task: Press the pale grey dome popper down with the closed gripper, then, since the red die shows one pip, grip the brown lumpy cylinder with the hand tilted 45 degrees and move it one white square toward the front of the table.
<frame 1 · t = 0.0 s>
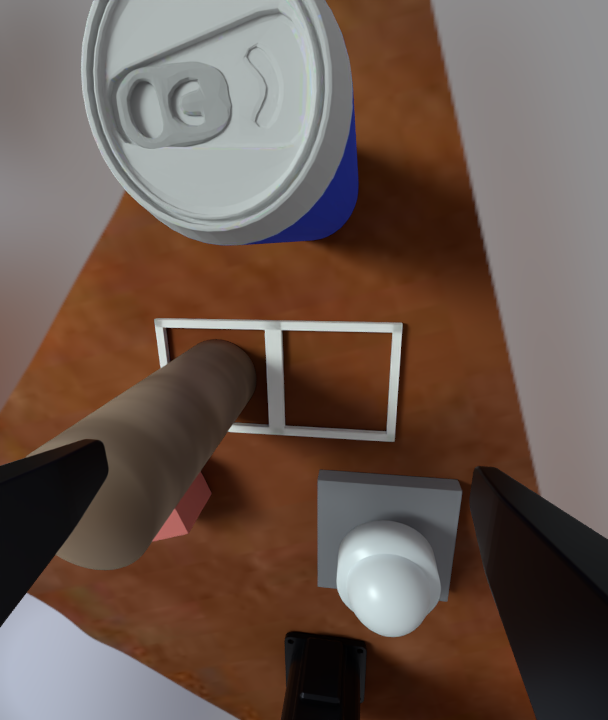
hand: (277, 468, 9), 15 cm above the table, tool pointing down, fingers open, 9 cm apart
white rectangular frame: (276, 378, 24), on the table
brown lumpy cylinder: (219, 376, 25), resting in white rectangular frame
dome base: (383, 529, 27), on the table
beverage can: (311, 191, 21), on the table
dome: (387, 586, 22), point 5 cm above the table, slide at -0.2 cm
red die: (176, 476, 28), on the table
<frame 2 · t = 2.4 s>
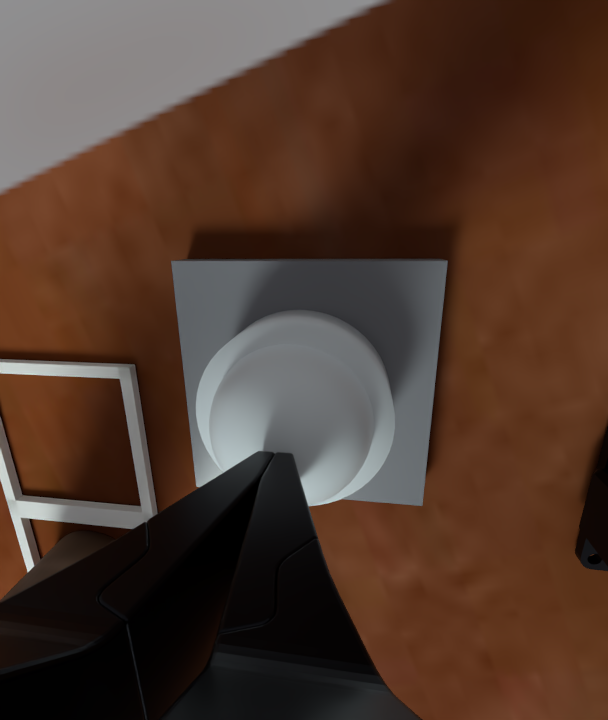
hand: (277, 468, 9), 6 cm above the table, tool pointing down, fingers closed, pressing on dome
white rectangular frame: (85, 509, 19), on the table
brown lumpy cylinder: (98, 570, 20), resting in white rectangular frame
dome base: (308, 378, 15), on the table
dome: (291, 421, 11), point 4 cm above the table, slide at -1.1 cm, touching gripper
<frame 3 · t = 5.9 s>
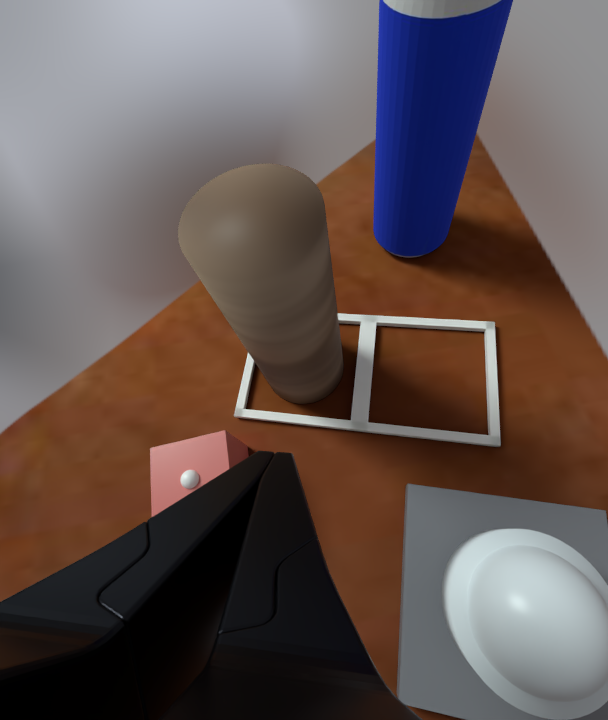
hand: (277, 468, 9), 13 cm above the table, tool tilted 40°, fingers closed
white rectangular frame: (364, 371, 24), on the table
brown lumpy cylinder: (304, 366, 24), resting in white rectangular frame
dome base: (498, 597, 18), on the table
beverage can: (409, 235, 28), on the table
dome: (534, 616, 14), point 4 cm above the table, slide at -0.6 cm
red die: (218, 487, 22), on the table
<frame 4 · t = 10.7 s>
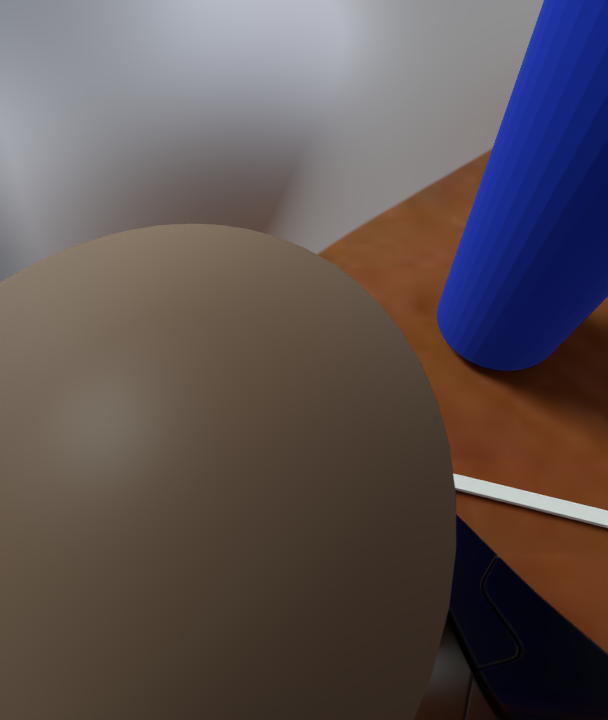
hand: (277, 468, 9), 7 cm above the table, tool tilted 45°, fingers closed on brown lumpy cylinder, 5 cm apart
white rectangular frame: (405, 574, 13), on the table
brown lumpy cylinder: (302, 542, 14), resting in white rectangular frame, touching gripper
beverage can: (490, 328, 18), on the table
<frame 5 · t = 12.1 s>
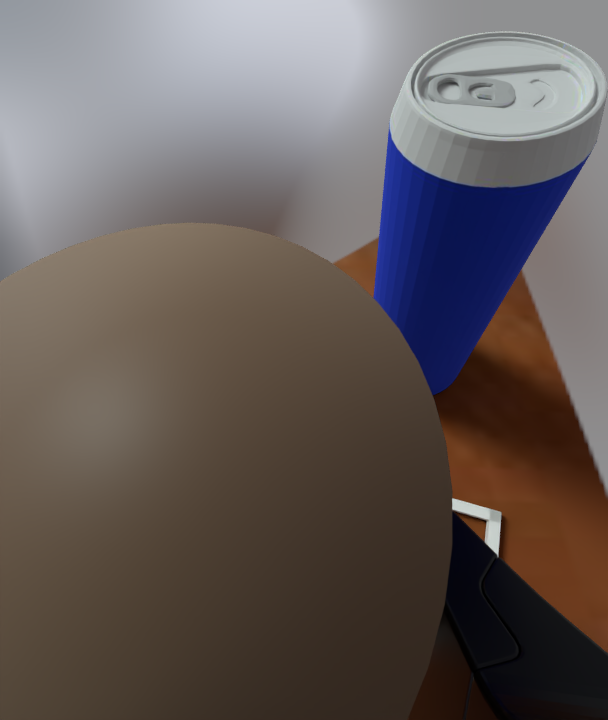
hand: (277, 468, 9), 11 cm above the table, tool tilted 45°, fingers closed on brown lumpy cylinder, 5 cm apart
white rectangular frame: (325, 546, 18), on the table
brown lumpy cylinder: (302, 542, 14), point 5 cm above the table, touching gripper
beverage can: (412, 361, 23), on the table
when the fingers open (8 cm above the table, at t = 13.8 s): brown lumpy cylinder drops 1 cm, resting in white rectangular frame.
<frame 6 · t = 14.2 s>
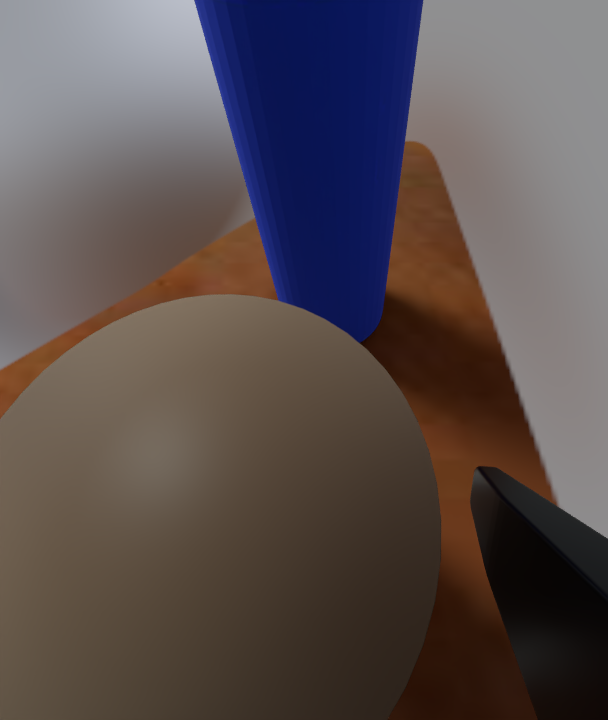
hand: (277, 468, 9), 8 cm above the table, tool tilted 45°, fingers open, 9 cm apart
brown lumpy cylinder: (304, 544, 15), resting in white rectangular frame
beverage can: (332, 315, 20), on the table
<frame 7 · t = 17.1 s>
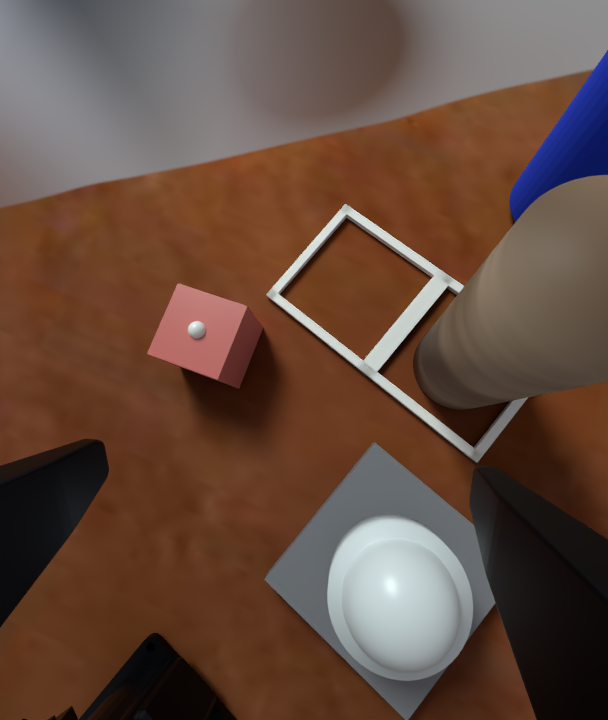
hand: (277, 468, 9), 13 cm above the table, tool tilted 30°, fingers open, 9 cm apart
white rectangular frame: (405, 324, 22), on the table
brown lumpy cylinder: (458, 365, 22), resting in white rectangular frame
dome base: (387, 564, 20), on the table
beverage can: (548, 211, 23), on the table
dome: (398, 599, 16), point 4 cm above the table, slide at -0.6 cm
red die: (221, 347, 23), on the table
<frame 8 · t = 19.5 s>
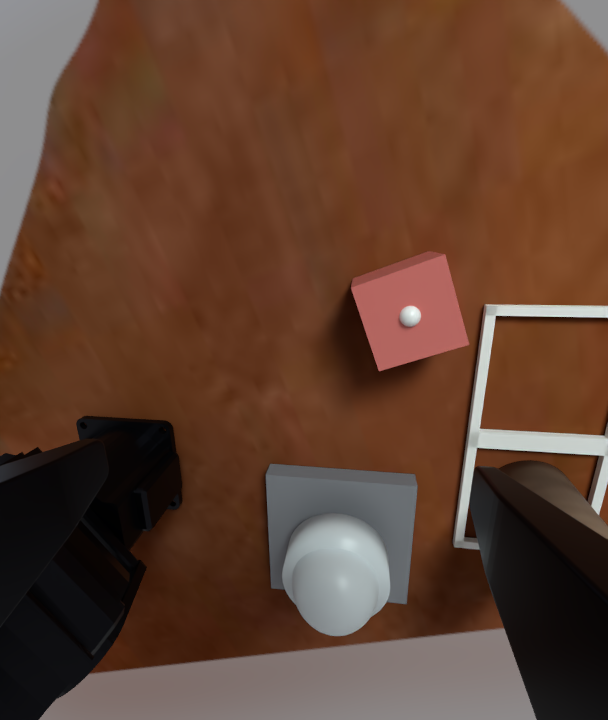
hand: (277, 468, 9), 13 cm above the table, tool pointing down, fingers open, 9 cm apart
white rectangular frame: (537, 440, 21), on the table
brown lumpy cylinder: (525, 497, 23), resting in white rectangular frame
dome base: (339, 527, 25), on the table
dome: (335, 582, 21), point 4 cm above the table, slide at -0.6 cm
red die: (401, 301, 20), on the table
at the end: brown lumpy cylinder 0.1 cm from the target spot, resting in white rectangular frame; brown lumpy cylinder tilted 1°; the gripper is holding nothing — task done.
